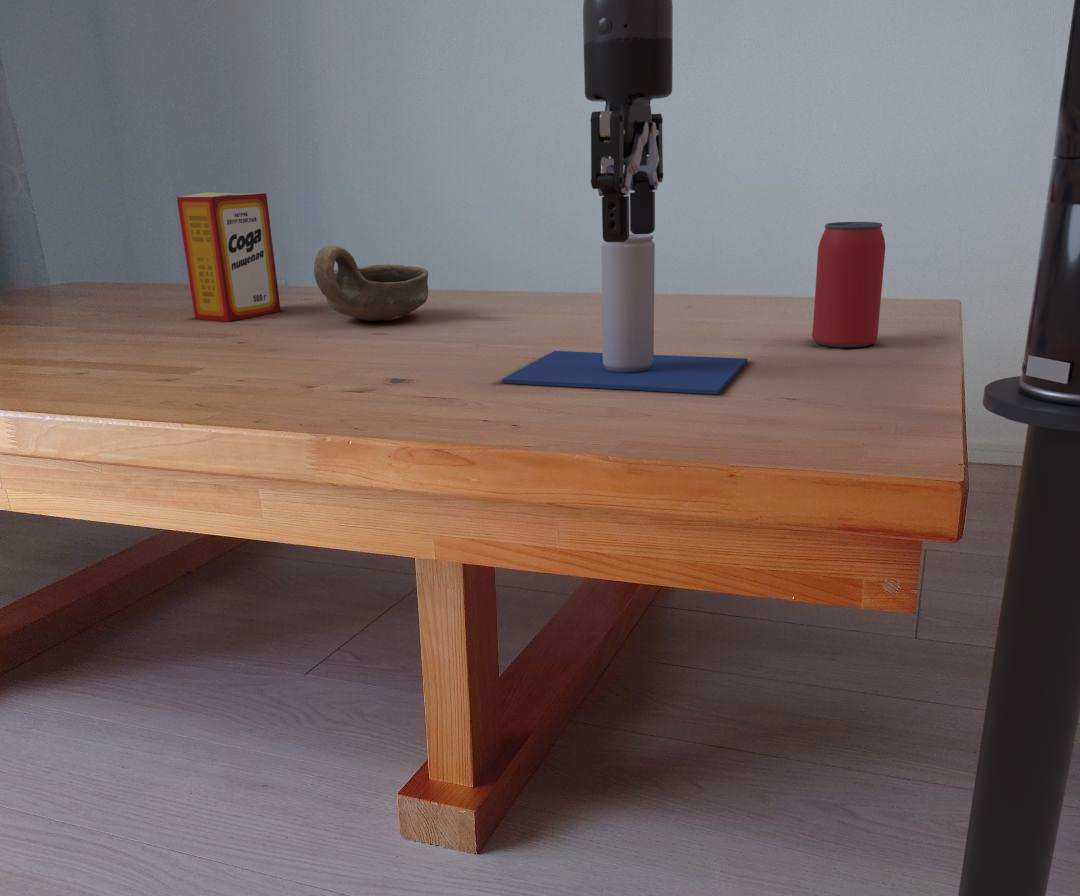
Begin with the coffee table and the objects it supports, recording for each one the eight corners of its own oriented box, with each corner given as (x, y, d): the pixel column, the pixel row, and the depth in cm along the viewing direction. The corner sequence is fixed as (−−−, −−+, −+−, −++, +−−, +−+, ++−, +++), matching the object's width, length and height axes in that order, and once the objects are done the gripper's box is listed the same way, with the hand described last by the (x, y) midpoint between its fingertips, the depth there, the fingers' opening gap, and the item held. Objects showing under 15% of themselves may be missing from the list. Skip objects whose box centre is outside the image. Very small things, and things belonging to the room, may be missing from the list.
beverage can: (664, 367, 95) (665, 235, 91) (630, 376, 92) (630, 239, 88) (625, 361, 98) (625, 233, 94) (591, 369, 95) (590, 237, 91)
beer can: (882, 339, 107) (893, 221, 103) (870, 350, 101) (881, 226, 97) (819, 336, 110) (827, 221, 105) (805, 347, 104) (812, 226, 100)
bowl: (454, 314, 133) (449, 235, 129) (367, 336, 119) (359, 248, 115) (373, 309, 140) (367, 234, 136) (283, 329, 126) (272, 246, 122)
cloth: (747, 362, 98) (747, 358, 98) (718, 394, 86) (718, 390, 86) (554, 354, 105) (554, 350, 105) (502, 383, 93) (501, 379, 93)
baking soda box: (247, 308, 144) (231, 190, 138) (280, 311, 141) (265, 190, 135) (195, 318, 137) (176, 194, 131) (228, 321, 133) (210, 193, 128)
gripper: (648, 26, 78) (649, 244, 83) (690, 41, 90) (688, 230, 96) (557, 34, 80) (564, 245, 86) (610, 48, 93) (613, 232, 98)
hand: (629, 237), depth 91 cm, fingers open, 8 cm apart
